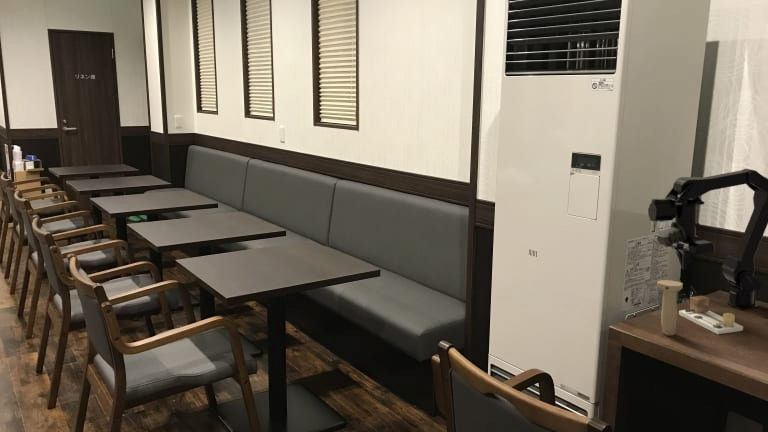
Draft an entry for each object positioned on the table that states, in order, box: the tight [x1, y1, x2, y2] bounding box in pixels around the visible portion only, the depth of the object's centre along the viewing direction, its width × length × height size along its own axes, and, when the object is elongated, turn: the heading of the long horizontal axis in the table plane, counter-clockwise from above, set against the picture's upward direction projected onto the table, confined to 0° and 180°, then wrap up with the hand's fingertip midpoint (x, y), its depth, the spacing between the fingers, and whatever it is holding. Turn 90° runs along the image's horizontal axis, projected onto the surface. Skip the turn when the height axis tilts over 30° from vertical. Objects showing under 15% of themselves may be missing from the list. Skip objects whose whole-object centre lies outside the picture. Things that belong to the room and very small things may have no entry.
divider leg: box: [684, 295, 710, 313], centre depth 183 cm, size 6×3×4 cm, turn 101°
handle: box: [656, 279, 684, 336], centre depth 170 cm, size 5×6×15 cm
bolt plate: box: [678, 309, 744, 335], centre depth 177 cm, size 8×16×4 cm, turn 11°
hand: (684, 268), depth 187 cm, fingers closed
